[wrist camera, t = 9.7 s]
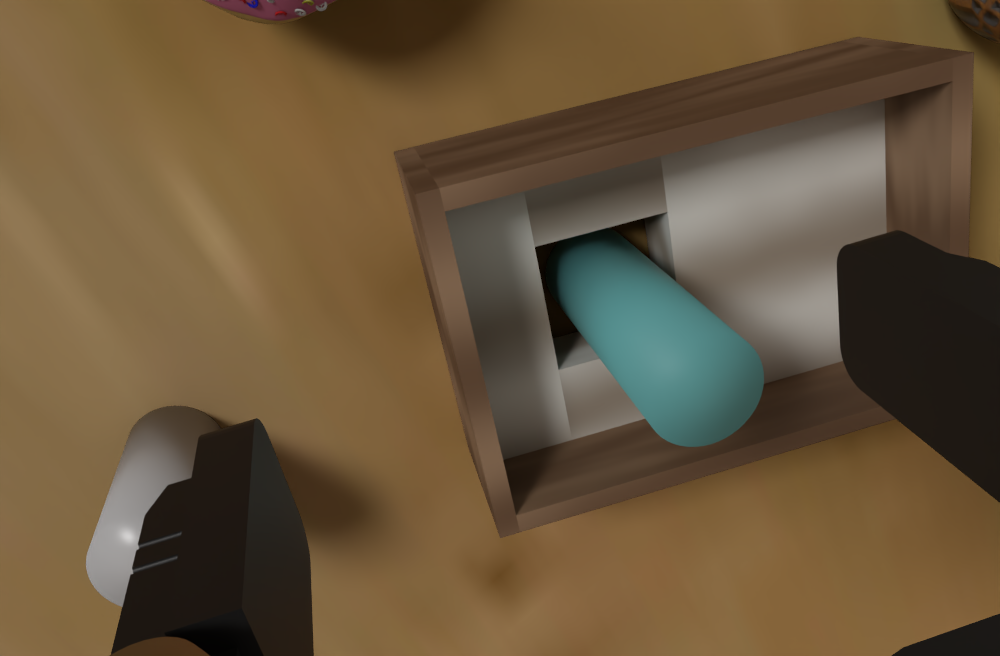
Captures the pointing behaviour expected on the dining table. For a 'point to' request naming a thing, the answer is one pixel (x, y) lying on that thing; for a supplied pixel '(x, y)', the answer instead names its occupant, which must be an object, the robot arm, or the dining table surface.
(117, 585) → the grey peg
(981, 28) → the vase
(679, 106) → the peg box
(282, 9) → the cupcake
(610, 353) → the teal peg
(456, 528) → the dining table surface
